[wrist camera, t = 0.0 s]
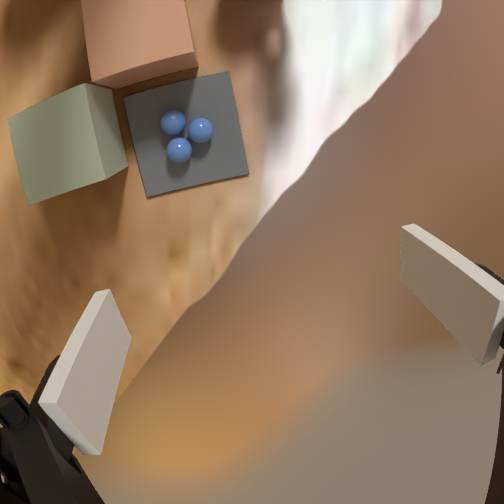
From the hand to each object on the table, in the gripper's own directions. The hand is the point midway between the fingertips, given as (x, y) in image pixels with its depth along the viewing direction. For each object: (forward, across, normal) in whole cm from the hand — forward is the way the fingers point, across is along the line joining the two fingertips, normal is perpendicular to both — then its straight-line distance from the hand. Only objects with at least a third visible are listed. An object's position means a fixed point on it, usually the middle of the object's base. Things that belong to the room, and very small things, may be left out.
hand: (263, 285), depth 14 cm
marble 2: (+28, -5, +4) cm, 28 cm away
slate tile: (+28, -4, +6) cm, 29 cm away
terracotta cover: (+28, -6, +19) cm, 35 cm away
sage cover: (+28, -17, +9) cm, 34 cm away
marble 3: (+28, -2, +6) cm, 28 cm away
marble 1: (+28, -5, +8) cm, 29 cm away
